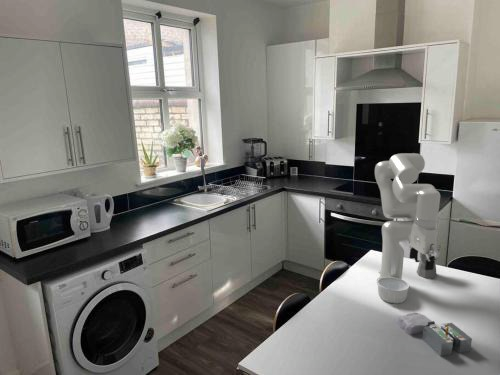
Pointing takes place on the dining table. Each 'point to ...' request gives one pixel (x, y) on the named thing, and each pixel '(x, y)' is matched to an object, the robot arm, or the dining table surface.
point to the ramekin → (392, 289)
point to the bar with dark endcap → (440, 329)
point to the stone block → (412, 322)
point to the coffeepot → (421, 267)
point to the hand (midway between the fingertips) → (420, 263)
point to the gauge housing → (446, 339)
